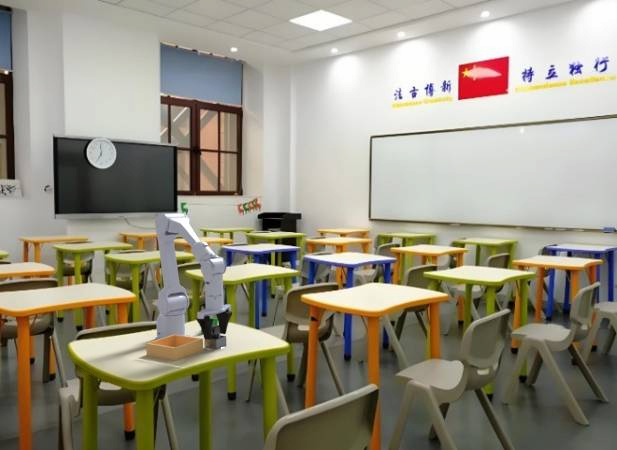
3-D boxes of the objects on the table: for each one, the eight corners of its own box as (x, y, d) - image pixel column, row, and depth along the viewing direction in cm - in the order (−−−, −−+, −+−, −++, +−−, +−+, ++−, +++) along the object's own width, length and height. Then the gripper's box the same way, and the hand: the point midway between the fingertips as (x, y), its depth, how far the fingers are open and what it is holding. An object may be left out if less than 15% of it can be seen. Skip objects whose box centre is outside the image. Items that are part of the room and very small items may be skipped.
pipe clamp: (211, 336, 181) (210, 323, 181) (201, 336, 181) (200, 323, 181) (220, 328, 192) (220, 316, 192) (210, 328, 192) (210, 316, 192)
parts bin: (146, 356, 156) (146, 343, 156) (174, 346, 167) (174, 334, 167) (175, 361, 150) (175, 348, 150) (203, 350, 161) (202, 338, 161)
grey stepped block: (204, 347, 163) (204, 327, 163) (214, 344, 168) (214, 323, 167) (216, 349, 161) (216, 328, 161) (226, 345, 165) (226, 325, 165)
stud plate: (200, 349, 163) (199, 342, 163) (214, 344, 169) (214, 337, 169) (217, 352, 159) (216, 344, 159) (230, 346, 166) (230, 339, 165)
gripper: (209, 299, 155) (210, 343, 156) (237, 292, 168) (238, 332, 168) (191, 297, 159) (192, 340, 159) (221, 290, 171) (222, 330, 172)
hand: (215, 336), depth 164 cm, fingers open, 7 cm apart
